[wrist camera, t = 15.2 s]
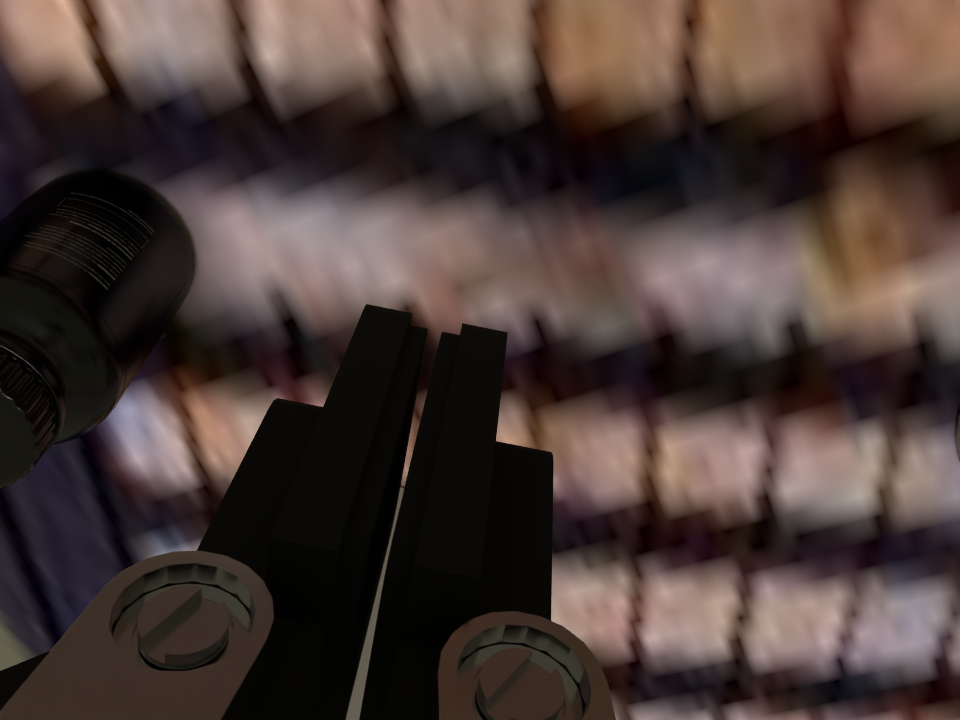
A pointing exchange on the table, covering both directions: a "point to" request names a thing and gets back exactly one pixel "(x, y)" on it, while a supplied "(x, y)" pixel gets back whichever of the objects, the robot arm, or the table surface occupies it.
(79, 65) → the table surface
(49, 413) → the supplement bottle
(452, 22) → the table surface
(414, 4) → the table surface
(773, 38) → the table surface
